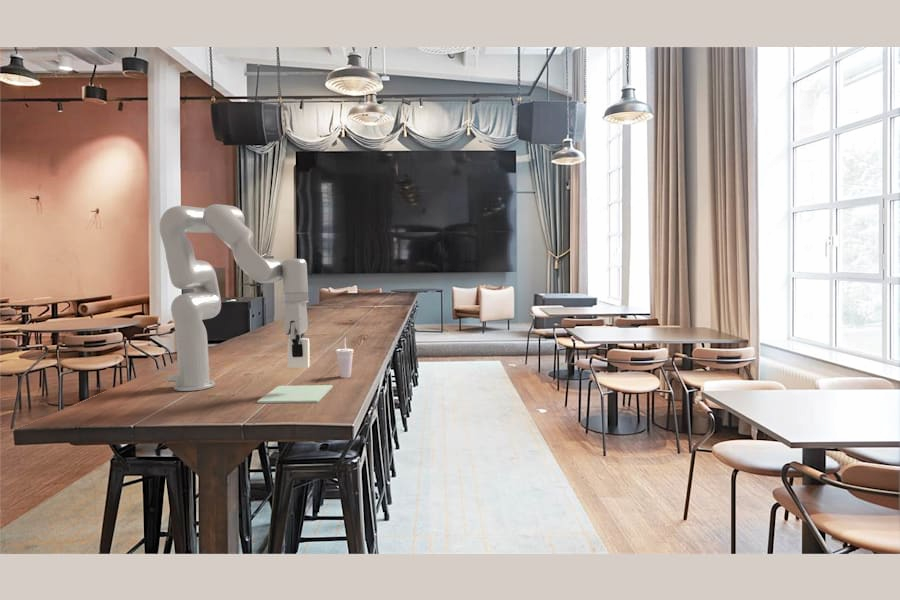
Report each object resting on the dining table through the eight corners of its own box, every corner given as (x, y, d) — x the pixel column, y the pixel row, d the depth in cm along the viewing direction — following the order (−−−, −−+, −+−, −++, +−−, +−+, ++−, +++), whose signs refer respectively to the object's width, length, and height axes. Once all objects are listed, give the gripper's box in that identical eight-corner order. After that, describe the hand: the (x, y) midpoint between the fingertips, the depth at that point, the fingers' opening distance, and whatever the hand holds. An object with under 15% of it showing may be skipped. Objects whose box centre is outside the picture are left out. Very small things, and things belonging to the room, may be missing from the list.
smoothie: (342, 379, 203) (340, 339, 202) (333, 376, 208) (331, 337, 207) (357, 376, 207) (356, 337, 206) (348, 373, 212) (347, 335, 211)
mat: (257, 403, 172) (257, 401, 172) (278, 387, 192) (278, 385, 192) (317, 402, 172) (317, 400, 172) (332, 386, 192) (332, 385, 192)
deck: (287, 367, 183) (287, 339, 182) (289, 366, 185) (289, 338, 185) (307, 367, 183) (307, 339, 182) (309, 366, 185) (309, 338, 185)
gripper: (291, 296, 190) (294, 352, 192) (276, 300, 175) (279, 361, 176) (314, 296, 190) (317, 351, 192) (300, 299, 174) (303, 360, 176)
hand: (298, 355), depth 184 cm, fingers closed on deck, 2 cm apart
